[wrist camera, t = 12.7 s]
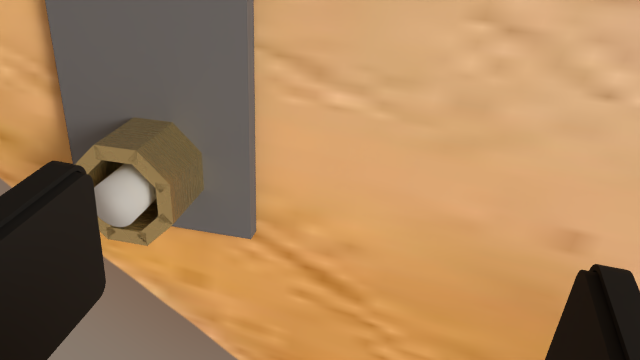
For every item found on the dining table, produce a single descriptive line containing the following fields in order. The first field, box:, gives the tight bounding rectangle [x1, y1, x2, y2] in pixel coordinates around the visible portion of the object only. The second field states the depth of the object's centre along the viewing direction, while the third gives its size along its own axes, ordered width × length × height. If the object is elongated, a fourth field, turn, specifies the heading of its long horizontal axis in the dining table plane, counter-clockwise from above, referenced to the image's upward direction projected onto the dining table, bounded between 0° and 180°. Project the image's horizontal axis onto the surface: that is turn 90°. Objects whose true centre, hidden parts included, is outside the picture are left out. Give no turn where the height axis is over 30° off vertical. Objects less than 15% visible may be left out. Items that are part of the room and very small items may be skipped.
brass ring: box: [75, 117, 204, 246], centre depth 40 cm, size 7×7×5 cm
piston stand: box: [45, 0, 256, 239], centre depth 37 cm, size 20×14×7 cm
